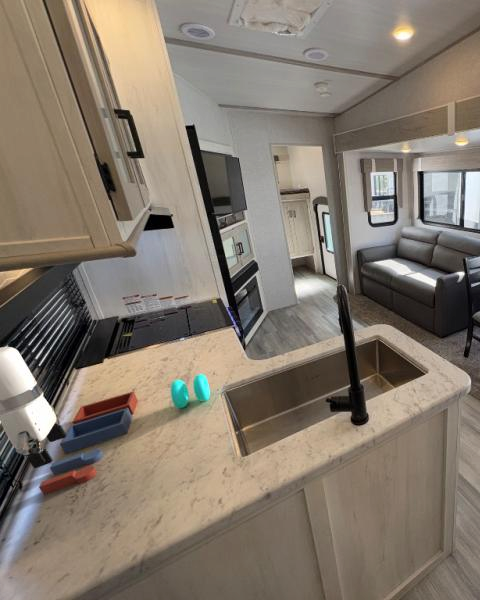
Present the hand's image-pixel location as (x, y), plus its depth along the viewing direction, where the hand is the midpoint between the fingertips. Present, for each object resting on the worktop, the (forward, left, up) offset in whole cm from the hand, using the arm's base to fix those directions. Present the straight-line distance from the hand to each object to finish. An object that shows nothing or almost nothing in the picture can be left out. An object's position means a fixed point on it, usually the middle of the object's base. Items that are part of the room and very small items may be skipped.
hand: (51, 451), depth 79 cm
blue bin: (+3, +18, -11) cm, 22 cm away
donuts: (+29, +19, -11) cm, 36 cm away
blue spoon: (+1, +6, -11) cm, 13 cm away
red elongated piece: (+1, -1, -11) cm, 11 cm away
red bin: (+3, +29, -11) cm, 32 cm away
